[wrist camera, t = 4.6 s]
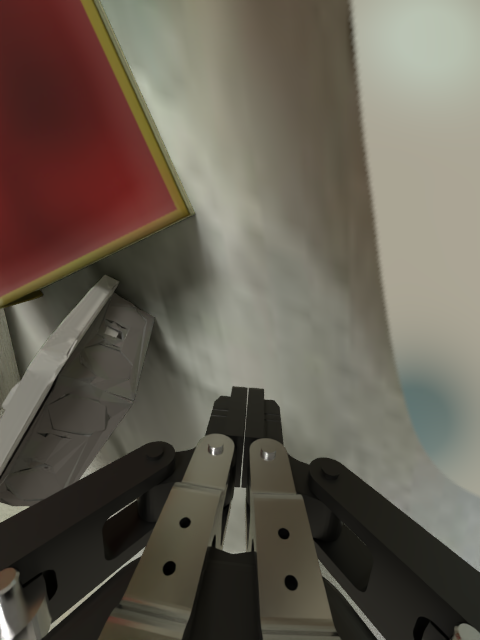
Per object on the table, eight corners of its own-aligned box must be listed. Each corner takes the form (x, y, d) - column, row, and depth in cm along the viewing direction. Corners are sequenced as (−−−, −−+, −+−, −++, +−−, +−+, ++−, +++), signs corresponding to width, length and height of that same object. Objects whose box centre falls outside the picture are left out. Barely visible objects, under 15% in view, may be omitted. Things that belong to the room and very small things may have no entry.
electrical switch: (110, 269, 17) (-23, 327, 9) (183, 316, 18) (130, 410, 10) (48, 377, 20) (-100, 505, 11) (115, 413, 21) (26, 555, 12)
